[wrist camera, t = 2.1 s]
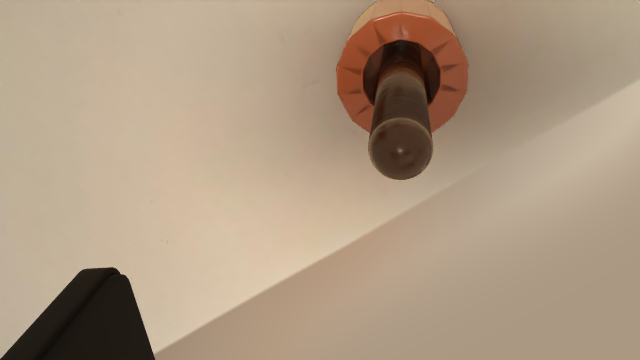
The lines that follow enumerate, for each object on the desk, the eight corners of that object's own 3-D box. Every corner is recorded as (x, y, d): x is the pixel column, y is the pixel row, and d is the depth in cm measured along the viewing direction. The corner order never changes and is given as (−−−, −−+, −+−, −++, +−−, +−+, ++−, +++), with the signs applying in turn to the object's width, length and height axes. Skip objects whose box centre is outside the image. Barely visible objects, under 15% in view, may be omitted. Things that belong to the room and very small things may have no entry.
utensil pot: (474, 18, 30) (492, 44, 24) (424, 114, 33) (430, 160, 27) (375, -25, 30) (368, -11, 24) (333, 75, 33) (317, 111, 26)
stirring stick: (426, 40, 31) (446, 144, 16) (410, 73, 32) (416, 200, 17) (392, 25, 31) (383, 117, 16) (377, 59, 31) (355, 174, 17)
